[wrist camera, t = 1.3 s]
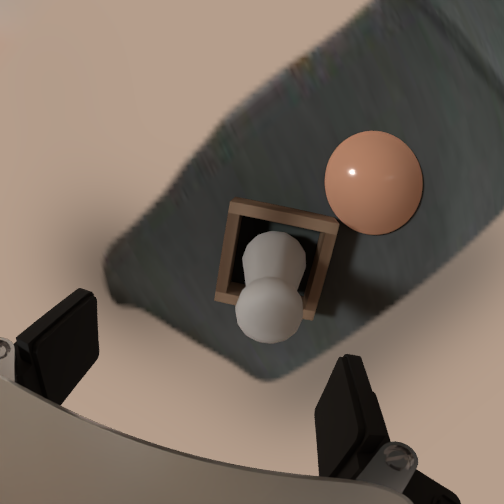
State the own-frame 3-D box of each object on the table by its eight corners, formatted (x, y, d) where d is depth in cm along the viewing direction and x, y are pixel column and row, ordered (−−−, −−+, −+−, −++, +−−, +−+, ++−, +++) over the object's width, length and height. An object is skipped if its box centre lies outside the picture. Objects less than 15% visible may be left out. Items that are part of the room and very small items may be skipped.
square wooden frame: (334, 217, 29) (339, 224, 26) (310, 306, 32) (312, 320, 29) (235, 196, 30) (230, 201, 27) (220, 288, 33) (214, 300, 30)
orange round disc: (429, 148, 26) (431, 148, 26) (406, 243, 29) (408, 244, 29) (335, 119, 27) (336, 118, 26) (314, 221, 30) (314, 222, 29)
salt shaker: (242, 227, 31) (214, 278, 18) (302, 222, 30) (314, 271, 17) (249, 283, 32) (228, 360, 20) (306, 279, 32) (316, 355, 19)
